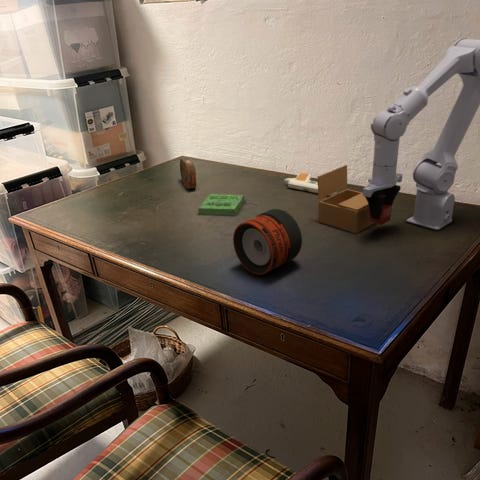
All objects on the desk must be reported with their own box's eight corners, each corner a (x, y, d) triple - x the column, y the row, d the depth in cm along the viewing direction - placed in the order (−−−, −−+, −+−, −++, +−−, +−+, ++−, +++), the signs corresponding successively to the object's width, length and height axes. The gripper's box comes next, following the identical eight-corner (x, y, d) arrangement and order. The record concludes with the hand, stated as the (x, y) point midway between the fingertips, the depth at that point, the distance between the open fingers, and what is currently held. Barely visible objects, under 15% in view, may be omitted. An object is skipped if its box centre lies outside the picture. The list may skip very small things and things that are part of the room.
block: (390, 220, 134) (392, 205, 131) (381, 225, 131) (383, 210, 129) (377, 216, 136) (378, 202, 134) (368, 221, 134) (369, 206, 132)
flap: (319, 199, 140) (318, 199, 140) (347, 186, 147) (346, 186, 147) (318, 176, 137) (317, 176, 137) (347, 164, 144) (346, 164, 144)
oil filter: (234, 266, 124) (230, 215, 117) (268, 248, 131) (266, 200, 124) (273, 282, 116) (272, 229, 109) (307, 263, 123) (308, 212, 116)
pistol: (350, 187, 166) (332, 198, 158) (298, 177, 176) (279, 187, 169) (350, 180, 164) (332, 190, 157) (298, 170, 175) (279, 180, 168)
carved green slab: (199, 214, 154) (198, 206, 153) (210, 200, 164) (209, 192, 162) (235, 215, 151) (234, 207, 150) (244, 200, 161) (243, 193, 160)
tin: (180, 179, 183) (177, 155, 178) (189, 178, 183) (186, 154, 179) (189, 192, 171) (186, 167, 166) (198, 191, 171) (196, 166, 167)
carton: (318, 221, 144) (318, 199, 140) (345, 208, 151) (347, 186, 147) (355, 233, 136) (357, 209, 132) (383, 218, 143) (385, 195, 139)
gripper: (387, 153, 132) (382, 203, 139) (353, 168, 124) (350, 220, 132) (411, 158, 128) (405, 209, 135) (378, 173, 120) (374, 227, 127)
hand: (380, 215), depth 133 cm, fingers closed on block, 4 cm apart
